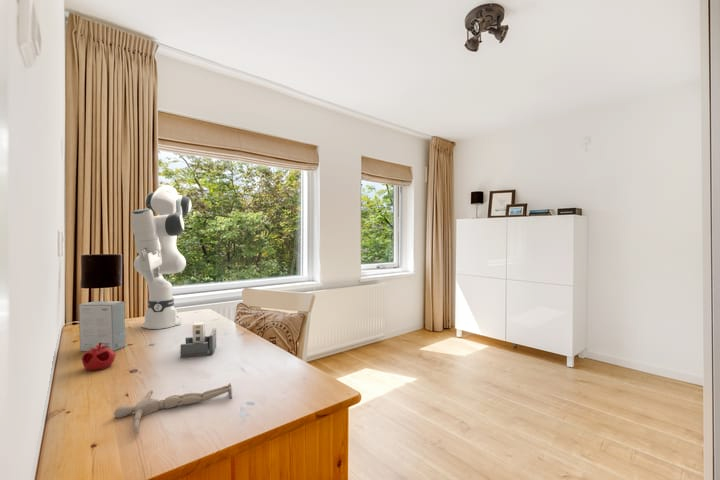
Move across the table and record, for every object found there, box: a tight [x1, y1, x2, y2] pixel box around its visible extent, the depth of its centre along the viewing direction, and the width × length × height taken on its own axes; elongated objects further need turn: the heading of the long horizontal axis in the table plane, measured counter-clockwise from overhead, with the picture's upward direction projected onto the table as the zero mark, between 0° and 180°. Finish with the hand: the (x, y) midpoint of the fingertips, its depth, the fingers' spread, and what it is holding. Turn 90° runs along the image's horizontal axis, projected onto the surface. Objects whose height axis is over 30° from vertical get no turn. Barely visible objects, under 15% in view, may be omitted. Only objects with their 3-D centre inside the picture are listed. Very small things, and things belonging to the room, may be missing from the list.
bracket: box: [179, 328, 217, 358], centre depth 147 cm, size 11×12×8 cm
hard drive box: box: [78, 300, 127, 352], centre depth 152 cm, size 16×8×20 cm, turn 84°
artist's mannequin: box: [113, 382, 233, 435], centre depth 101 cm, size 28×4×30 cm
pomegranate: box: [81, 342, 116, 371], centre depth 131 cm, size 10×10×9 cm
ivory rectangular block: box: [192, 321, 206, 343], centre depth 147 cm, size 5×4×11 cm
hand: (154, 279), depth 150 cm, fingers open, 8 cm apart
